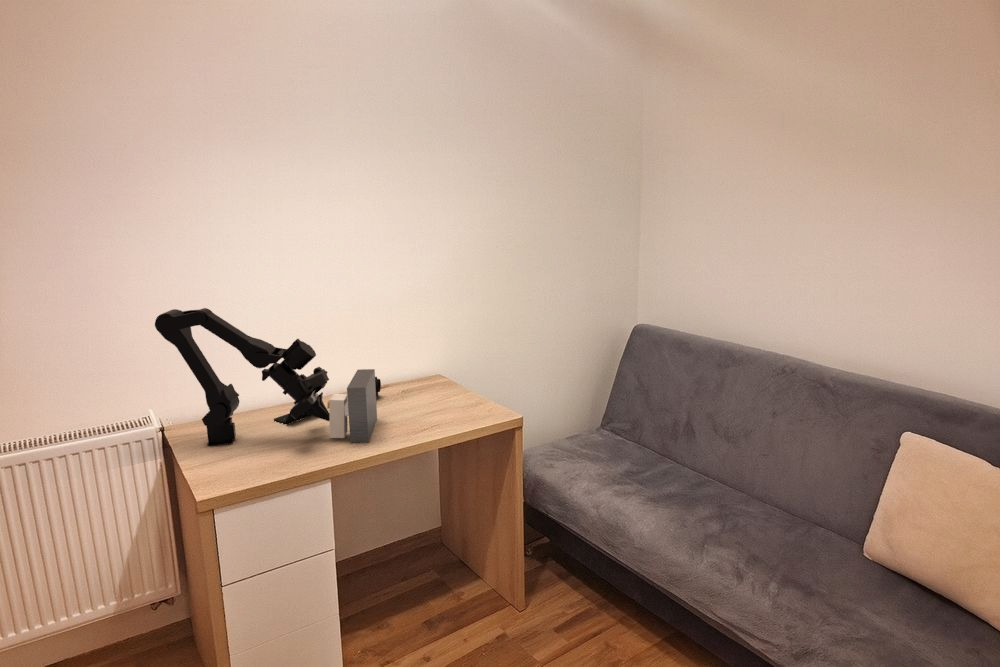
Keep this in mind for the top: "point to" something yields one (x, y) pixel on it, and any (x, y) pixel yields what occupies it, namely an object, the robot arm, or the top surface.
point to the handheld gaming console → (289, 418)
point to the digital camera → (377, 385)
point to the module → (337, 416)
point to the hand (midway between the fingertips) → (330, 419)
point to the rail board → (361, 406)
